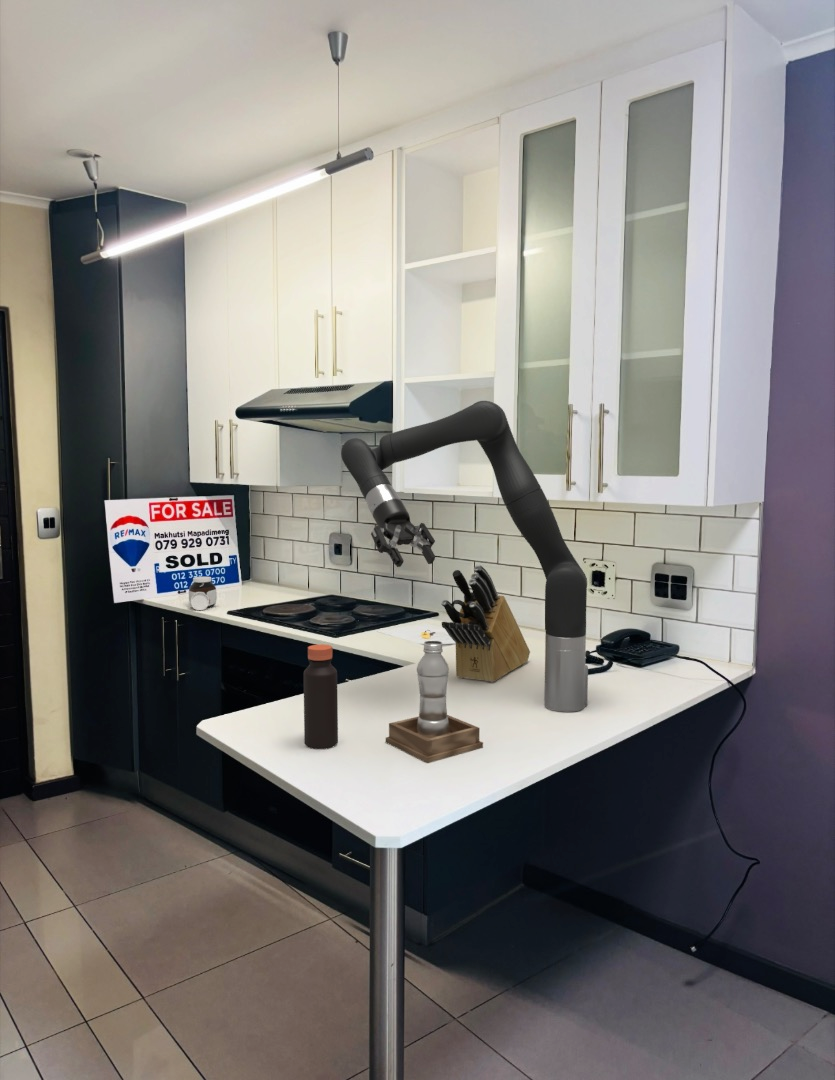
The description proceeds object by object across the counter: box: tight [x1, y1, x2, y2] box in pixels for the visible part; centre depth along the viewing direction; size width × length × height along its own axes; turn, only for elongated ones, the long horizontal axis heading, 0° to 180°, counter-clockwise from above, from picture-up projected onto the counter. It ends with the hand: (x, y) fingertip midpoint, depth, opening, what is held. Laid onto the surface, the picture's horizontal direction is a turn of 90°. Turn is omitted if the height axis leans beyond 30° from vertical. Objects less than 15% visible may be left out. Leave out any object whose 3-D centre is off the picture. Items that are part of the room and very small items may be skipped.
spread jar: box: [188, 576, 218, 611], centre depth 311 cm, size 12×11×12 cm
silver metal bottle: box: [416, 640, 450, 739], centre depth 162 cm, size 6×7×20 cm
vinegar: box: [303, 644, 339, 750], centre depth 162 cm, size 7×7×20 cm
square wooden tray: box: [385, 714, 484, 764], centre depth 162 cm, size 14×14×4 cm
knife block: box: [441, 564, 531, 683], centre depth 215 cm, size 11×35×31 cm, turn 150°
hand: (416, 563), depth 177 cm, fingers open, 8 cm apart
